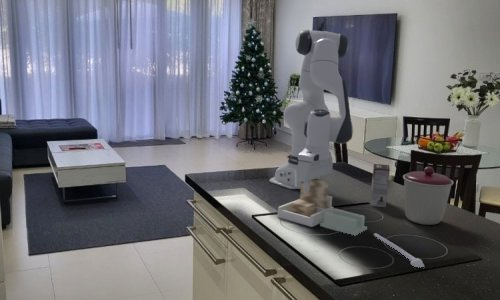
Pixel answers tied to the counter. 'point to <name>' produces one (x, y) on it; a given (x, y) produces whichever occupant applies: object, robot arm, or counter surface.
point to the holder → (344, 222)
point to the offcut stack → (303, 208)
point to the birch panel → (316, 193)
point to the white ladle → (402, 252)
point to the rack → (311, 221)
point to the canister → (426, 196)
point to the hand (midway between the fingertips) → (314, 188)
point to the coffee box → (379, 185)
